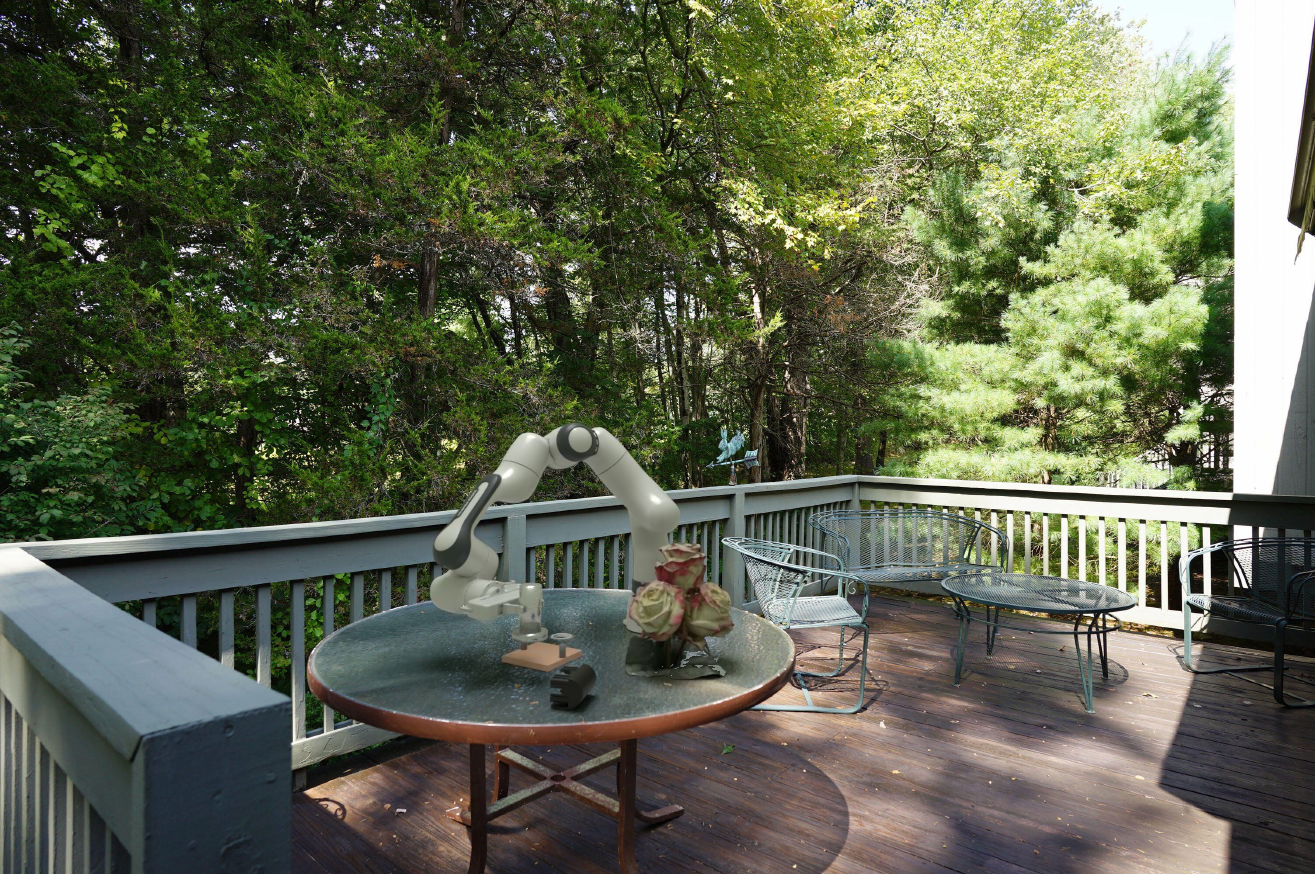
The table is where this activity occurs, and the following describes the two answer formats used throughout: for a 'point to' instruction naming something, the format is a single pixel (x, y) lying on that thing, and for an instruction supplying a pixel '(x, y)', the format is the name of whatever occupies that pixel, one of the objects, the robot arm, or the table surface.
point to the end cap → (572, 686)
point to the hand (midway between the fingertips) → (533, 606)
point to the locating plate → (542, 656)
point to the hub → (530, 615)
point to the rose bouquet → (677, 616)
